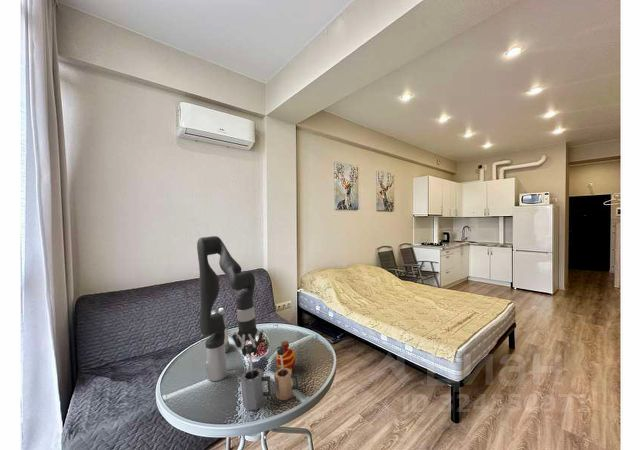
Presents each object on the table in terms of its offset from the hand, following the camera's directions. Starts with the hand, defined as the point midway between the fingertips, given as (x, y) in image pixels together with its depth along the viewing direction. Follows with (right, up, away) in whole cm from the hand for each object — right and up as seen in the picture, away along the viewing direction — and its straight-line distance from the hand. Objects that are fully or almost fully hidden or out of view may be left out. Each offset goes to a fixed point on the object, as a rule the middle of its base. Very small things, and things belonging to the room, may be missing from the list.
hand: (250, 354), depth 113 cm
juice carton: (-31, -23, +49) cm, 62 cm away
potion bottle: (+14, -20, +23) cm, 34 cm away
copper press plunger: (+14, -14, +5) cm, 20 cm away
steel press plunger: (+1, -14, +1) cm, 15 cm away
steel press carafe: (+3, -22, +1) cm, 22 cm away
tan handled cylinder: (+16, -21, +5) cm, 27 cm away
